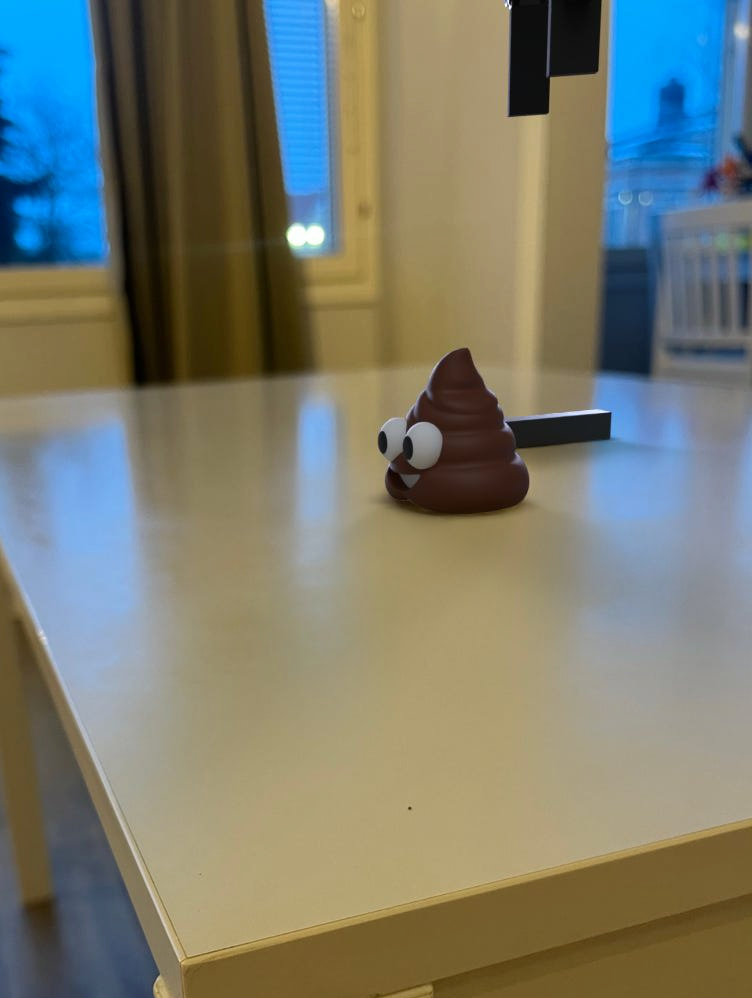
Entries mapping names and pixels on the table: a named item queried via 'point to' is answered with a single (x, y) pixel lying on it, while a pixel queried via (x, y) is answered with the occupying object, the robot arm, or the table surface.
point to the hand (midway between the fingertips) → (547, 97)
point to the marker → (560, 428)
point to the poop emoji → (454, 446)
